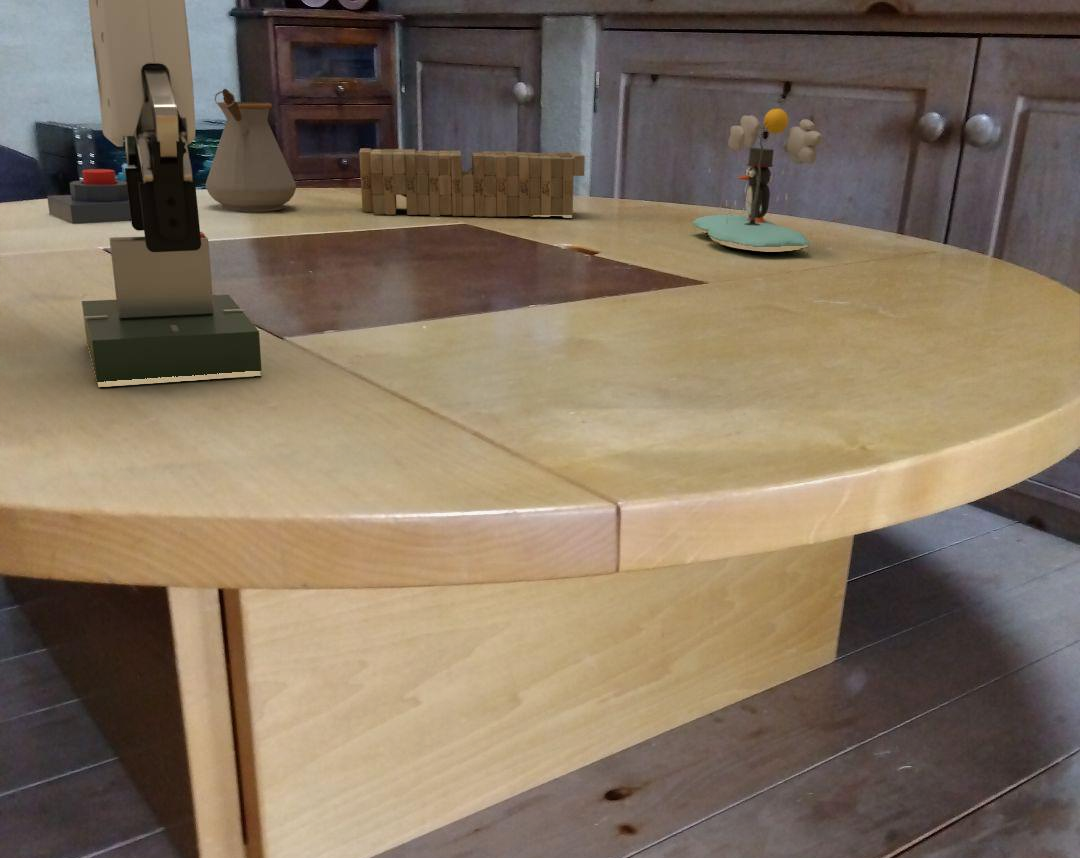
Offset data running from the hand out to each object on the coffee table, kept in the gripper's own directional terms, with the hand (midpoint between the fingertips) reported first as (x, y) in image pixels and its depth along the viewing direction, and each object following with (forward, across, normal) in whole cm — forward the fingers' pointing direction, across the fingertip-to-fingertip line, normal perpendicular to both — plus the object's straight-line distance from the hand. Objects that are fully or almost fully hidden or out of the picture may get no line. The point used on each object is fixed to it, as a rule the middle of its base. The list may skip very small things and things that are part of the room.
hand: (165, 239), depth 73 cm
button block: (+7, -71, 0) cm, 71 cm away
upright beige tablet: (+5, 0, 0) cm, 5 cm away
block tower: (+8, -68, +46) cm, 83 cm away
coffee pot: (+7, -72, +17) cm, 74 cm away
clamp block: (+8, 0, 0) cm, 8 cm away
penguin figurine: (+9, -37, +70) cm, 79 cm away
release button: (+4, -71, 0) cm, 71 cm away
